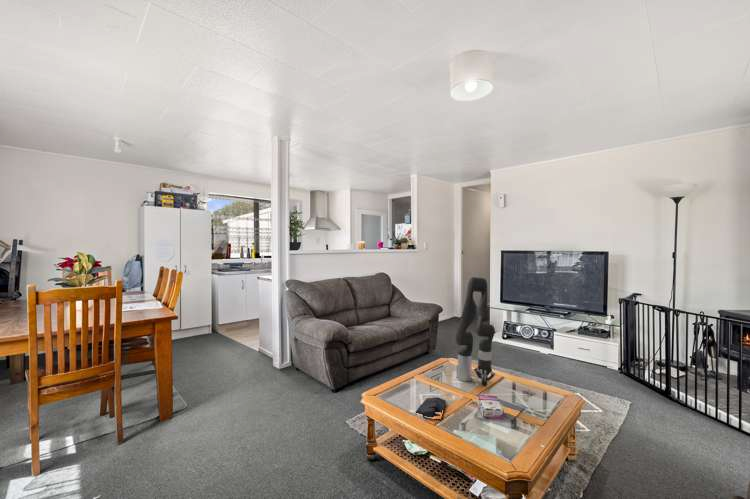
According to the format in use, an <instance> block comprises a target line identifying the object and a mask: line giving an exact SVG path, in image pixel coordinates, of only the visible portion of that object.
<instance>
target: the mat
mask: <svg viewBox="0 0 750 499" xmlns="http://www.w3.org/2000/svg"><path fill="white" fill-rule="evenodd" d="M497 399H498V400H499V402H500V404H502V405H503V406H505V407H508V408H511V409H514V410H518V411H521V412H523V410H524V409H525V407H524V406H522V405H519V404H515V403H512V402H509V401H506V400H503V399H500V398H497ZM516 417H517V416H513V415H510V414H507V413H504V419H508V420H509V421H514V420H515V418H516Z"/></svg>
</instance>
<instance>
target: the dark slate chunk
mask: <svg viewBox="0 0 750 499" xmlns="http://www.w3.org/2000/svg"><path fill="white" fill-rule="evenodd" d="M446 404H447V401H446V399H443V398H441V397H437V396H436V397H427V398H425V400H423V402H422V404H420V405H419V406H418V408H417V409H416V410H415V412H416V413H419V414H422V415H423V416H427V417H434V416H435V415H436V414H435V412H441V413H442V410H444V411H445V409H446Z"/></svg>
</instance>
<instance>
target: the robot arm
mask: <svg viewBox="0 0 750 499" xmlns="http://www.w3.org/2000/svg"><path fill="white" fill-rule="evenodd" d="M476 292H478V293H480V294H481V297H480V299H479V301H478V302H477V303H476V301H475V299H474V293H476ZM489 313H490V312H489V307H488V283H487V279H486V278H483V277H478V276H477V277H475V276H472V277H471V276H470V277H469V279H468V283H467V289H466V297H465V301H464V304H463V308H462V312H461V318H460V321H459V324H458V328H457V331H456V333H455V343H456V345H458V346H462V347H460V348H459V349H458V350H457V364H456V379H457V380H459V381H461V382H471V381H472V359H473V357H472V354H473V346H474V336H473V333H472V332H471V331H468V329H469V327H470V326H471V325H472V324H473V323H474V321H475V320H476V318H477V323H476V328H475V332H476V335H477V336H478V337H484V338H483V339H479V342H478V357H477V358H478V362H477V364H478V365H477V367H475V368H474V370H473V371H474V372H475V375H476V376H477V378H479V379H481V385H482V387H484V388H486V387H487V386H488V382H489V381H490V380H492V379H493V378H494V377H495V376H496V375H497V373H496V372H494V371H493V368H492V363H493V362H492V359H493V356H492V345H493V339H494V336H495V332H496V329H495V326H494V325H493V324H485V323H487V322H488V323H489V321H490V314H489ZM489 375H490V376H489Z"/></svg>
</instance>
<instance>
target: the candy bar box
mask: <svg viewBox="0 0 750 499" xmlns="http://www.w3.org/2000/svg"><path fill="white" fill-rule="evenodd" d="M498 399H499V398H498V396H497V395H486V394H477V395H476V404H477V406H478V408H479V411H480V413H481V416H482V417H483V418H494V419H505V417H504V409H503V408H502V406H501V404H500V402H499V400H498Z"/></svg>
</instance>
